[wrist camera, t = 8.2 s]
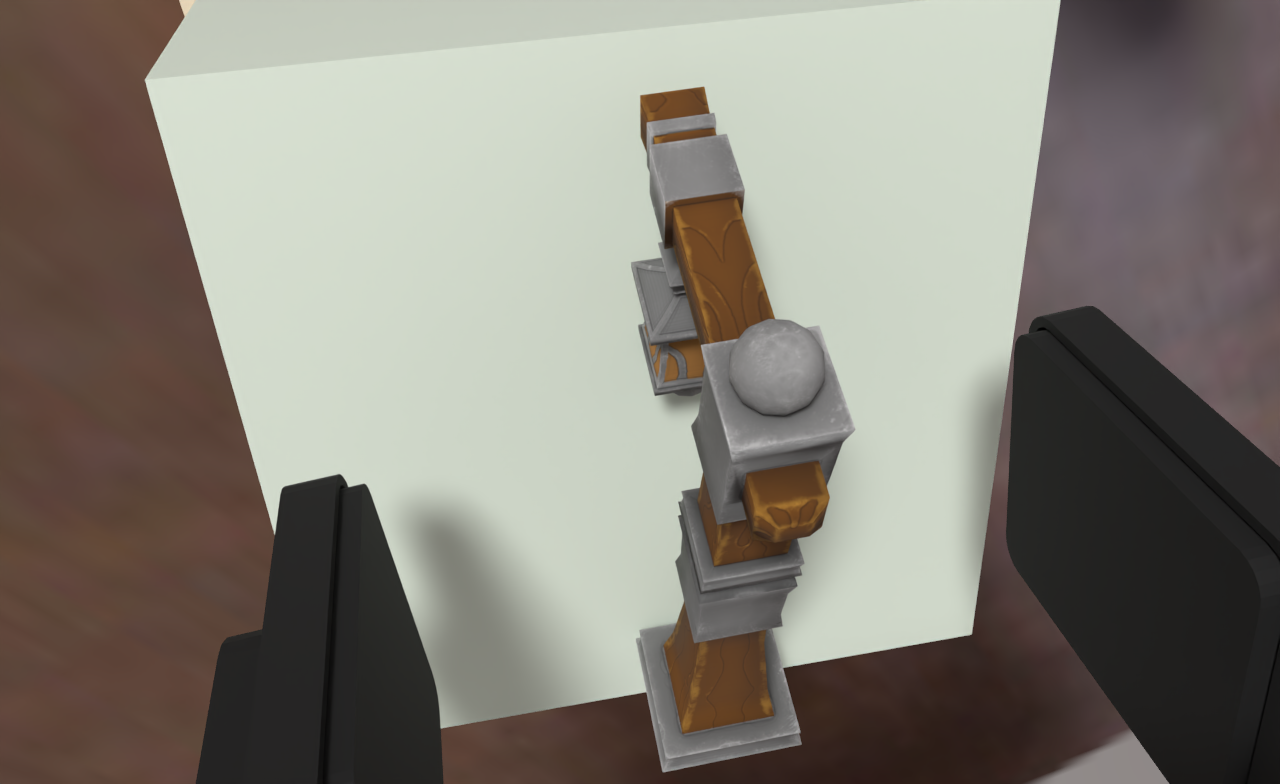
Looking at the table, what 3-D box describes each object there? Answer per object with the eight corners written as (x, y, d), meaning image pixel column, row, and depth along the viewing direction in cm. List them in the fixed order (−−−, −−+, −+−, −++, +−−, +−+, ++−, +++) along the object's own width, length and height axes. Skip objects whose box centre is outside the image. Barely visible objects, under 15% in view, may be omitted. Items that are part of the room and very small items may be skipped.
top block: (884, -92, 16) (1062, -13, 12) (853, 442, 21) (971, 634, 16) (215, -32, 15) (145, 80, 10) (347, 519, 19) (335, 747, 15)
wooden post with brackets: (773, -3, 10) (943, 417, 8) (723, 456, 17) (806, 761, 14) (573, 23, 10) (681, 461, 7) (603, 476, 17) (665, 789, 14)
